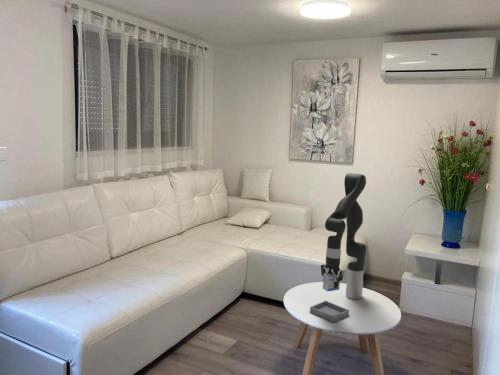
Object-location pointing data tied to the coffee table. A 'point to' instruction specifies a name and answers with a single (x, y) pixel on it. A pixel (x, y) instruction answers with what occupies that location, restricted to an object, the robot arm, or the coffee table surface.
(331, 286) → the medicine box
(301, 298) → the coffee table surface
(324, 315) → the tray
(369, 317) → the coffee table surface
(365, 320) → the coffee table surface
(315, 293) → the coffee table surface
